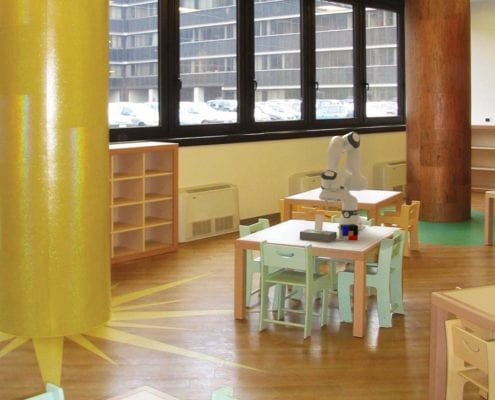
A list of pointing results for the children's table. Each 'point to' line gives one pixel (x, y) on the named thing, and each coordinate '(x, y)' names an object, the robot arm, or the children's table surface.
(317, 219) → the lever
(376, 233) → the children's table surface
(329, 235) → the switch box
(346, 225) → the puzzle toy
